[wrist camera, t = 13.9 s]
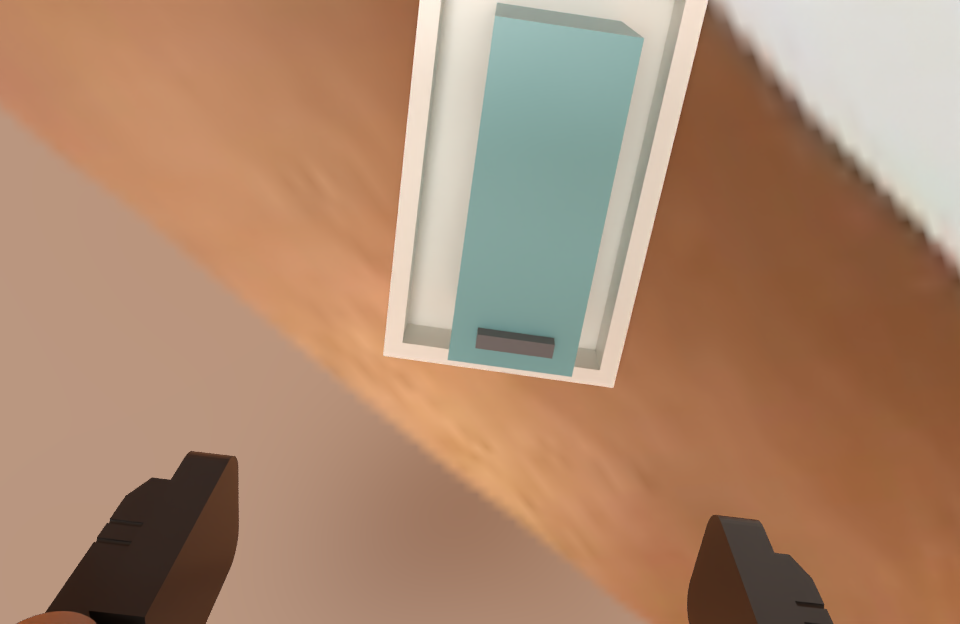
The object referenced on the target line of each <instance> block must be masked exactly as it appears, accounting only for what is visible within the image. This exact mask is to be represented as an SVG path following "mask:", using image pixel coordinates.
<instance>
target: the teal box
mask: <svg viewBox="0 0 960 624" xmlns="http://www.w3.org/2000/svg"><path fill="white" fill-rule="evenodd" d="M643 42H644V38H643V37H642V36H641V35H639V34H638V33H637V32H635V31H634V30H632V29H631V28H630V27H628V26H627V25H626V24H624V23H623V22H622V21H617V20H610V19H603V18H597V17H590V16H583V15H577V14H570V13H563V12H557V11H550V10H543V9H537V8H530V7H523V6H517V5H510V4H503V3H497V6H496V12H495V19H494V26H493V33H492V40H491V48H490V55H489V62H488V69H487V77H486V84H485V91H484V99H483V106H482V113H481V120H480V128H479V135H478V142H477V149H476V157H475V164H474V171H473V179H472V186H471V193H470V200H469V208H468V215H467V222H466V229H465V237H464V244H463V251H462V259H461V266H460V273H459V280H458V288H457V295H456V302H455V309H454V317H453V324H452V331H451V339H450V346H449V353H448V360H451V361H459V362H466V363H473V364H481V365H488V366H495V367H503V368H510V369H517V370H525V371H532V372H539V373H547V374H554V375H561V376H569V377H572V374H573V369H574V364H575V360H576V355H577V350H578V346H579V341H580V336H581V332H582V327H583V322H584V318H585V313H586V308H587V304H588V299H589V294H590V290H591V285H592V280H593V276H594V271H595V266H596V261H597V257H598V252H599V247H600V243H601V238H602V233H603V229H604V224H605V219H606V215H607V210H608V205H609V201H610V196H611V191H612V187H613V182H614V177H615V173H616V168H617V163H618V159H619V154H620V149H621V144H622V140H623V135H624V130H625V126H626V121H627V116H628V112H629V107H630V102H631V98H632V93H633V88H634V84H635V79H636V74H637V70H638V65H639V60H640V56H641V51H642V46H643Z"/></svg>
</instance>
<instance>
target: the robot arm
mask: <svg viewBox="0 0 960 624" xmlns="http://www.w3.org/2000/svg"><path fill="white" fill-rule="evenodd" d="M238 529H239V508H238V461H237V458H236V457H235V456H228V455H219V454H211V453H202V452H194V451H190V452H189V453H188V454H187V455H186V457H185V458H184V460H183V461H182V463H181V464H180V466H179V468H178V469H177V471H176V472H175V474H174V476H173V477H172V479H171V480H167V479H159V478H151V479H149V480H148V481H147V482H145V483H144V484H142V485H141V486H139V487H138V488H137V489H135V490H134V491H132V492H131V493H129V494H128V495H126V496H125V498H124V499H123V501H122V502H121V504H120V505H119V506H118V508H117V509H116V511H115V512H114V514H113V515H112V517H111V518H110V522H109V523H107V524H106V526H105V527H104V528H103V530H102V531H101V533H100V534H99V535H98V537H97V541H96V542H94V543H93V544H92V546H91V547H90V549H89V550H88V551H87V553H86V554H85V556H84V557H83V559H82V560H81V562H80V563H79V564H78V566H77V567H76V569H75V570H74V572H73V573H72V575H71V576H70V577H69V579H68V580H67V582H66V583H65V585H64V586H63V588H62V589H61V591H60V592H59V593H58V595H57V596H56V598H55V599H54V601H53V602H52V604H51V605H50V607H49V608H48V609H47V611H46V612H45V613H42V614H39V615H35V616H32V617H30V618H27V619H25V620H22V621H20V622H18V623H17V624H206V622H207V619H208V617H209V615H210V612H211V610H212V608H213V606H214V603H215V601H216V599H217V597H218V595H219V592H220V590H221V588H222V586H223V583H224V581H225V579H226V576H227V574H228V572H229V570H230V567H231V565H232V562H233V559H234V555H235V551H236V546H237V541H238ZM687 611H688V620H689V624H833V622H832V620H831V618H830V616H829V613H828V611H827V609H824V603H823V601H822V599H821V596H820V594H819V592H818V590H817V588H816V586H815V584H814V582H813V579H812V578H811V577H810V576H809V575H808V574H807V573H806V572H805V571H804V570H803V569H802V568H801V566H800V565H799V564H798V563H797V562H796V561H795V560H794V559H793V558H792V557H791V556H790V555H788V554H779V553H774V551H773V549H772V546H771V544H770V542H769V539H768V537H767V535H766V532H765V530H764V528H763V526H762V524H761V523H760V521H758V520H753V519H745V518H736V517H728V516H719V515H713V516H712V517H711V518H710V519H709V521H708V524H707V527H706V530H705V534H704V537H703V540H702V544H701V547H700V550H699V553H698V557H697V560H696V563H695V567H694V570H693V573H692V577H691V580H690V584H689V589H688V598H687Z"/></svg>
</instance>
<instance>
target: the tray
mask: <svg viewBox="0 0 960 624" xmlns="http://www.w3.org/2000/svg"><path fill="white" fill-rule="evenodd" d="M497 3H503V4H510V5H517V6H523V7H530V8H537V9H543V10H550V11H557V12H563V13H570V14H577V15H583V16H590V17H597V18H603V19H610V20H617V21H622V22H623V23H624V24H626V25H627V26H628V27H630V28H631V29H632V30H634V31H635V32H637V33H638V34H639V35H641V36H642V37H643V38H644V42H643V46H642V51H641V56H640V60H639V65H638V70H637V74H636V79H635V84H634V88H633V93H632V98H631V102H630V107H629V112H628V116H627V121H626V126H625V130H624V135H623V140H622V144H621V149H620V154H619V159H618V163H617V168H616V173H615V177H614V182H613V187H612V191H611V196H610V201H609V205H608V210H607V215H606V219H605V224H604V229H603V233H602V238H601V243H600V247H599V252H598V257H597V261H596V266H595V271H594V276H593V280H592V285H591V290H590V294H589V299H588V304H587V308H586V313H585V318H584V322H583V327H582V332H581V336H580V341H579V346H578V350H577V355H576V360H575V364H574V369H573V374H572V377H569V376H561V375H554V374H547V373H539V372H532V371H525V370H517V369H510V368H503V367H495V366H488V365H481V364H473V363H466V362H459V361H451V360H448V353H449V346H450V339H451V331H452V324H453V317H454V309H455V302H456V295H457V288H458V280H459V273H460V266H461V259H462V251H463V244H464V237H465V229H466V222H467V215H468V208H469V200H470V193H471V186H472V179H473V171H474V164H475V157H476V149H477V142H478V135H479V128H480V120H481V113H482V106H483V99H484V91H485V84H486V77H487V69H488V62H489V55H490V48H491V40H492V33H493V26H494V19H495V12H496V6H497ZM707 3H708V0H420V3H419V13H418V22H417V32H416V42H415V52H414V61H413V71H412V81H411V90H410V100H409V110H408V120H407V129H406V139H405V149H404V158H403V168H402V178H401V187H400V197H399V207H398V217H397V226H396V236H395V246H394V255H393V265H392V275H391V285H390V294H389V304H388V314H387V323H386V333H385V343H384V353H383V356H388V357H395V358H402V359H410V360H417V361H424V362H431V363H438V364H445V365H453V366H460V367H467V368H474V369H481V370H488V371H496V372H503V373H510V374H517V375H524V376H531V377H539V378H546V379H553V380H560V381H567V382H574V383H582V384H589V385H596V386H603V387H610V388H613V387H614V383H615V379H616V375H617V371H618V367H619V363H620V359H621V355H622V351H623V347H624V342H625V338H626V334H627V330H628V326H629V322H630V318H631V314H632V310H633V306H634V302H635V297H636V293H637V289H638V285H639V281H640V277H641V273H642V269H643V265H644V261H645V257H646V252H647V248H648V244H649V240H650V236H651V232H652V228H653V224H654V220H655V216H656V212H657V207H658V203H659V199H660V195H661V191H662V187H663V183H664V179H665V175H666V171H667V167H668V162H669V158H670V154H671V150H672V146H673V142H674V138H675V134H676V130H677V126H678V122H679V117H680V113H681V109H682V105H683V101H684V97H685V93H686V89H687V85H688V81H689V77H690V72H691V68H692V64H693V60H694V56H695V52H696V48H697V44H698V40H699V36H700V32H701V27H702V23H703V19H704V15H705V11H706V7H707Z"/></svg>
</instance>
